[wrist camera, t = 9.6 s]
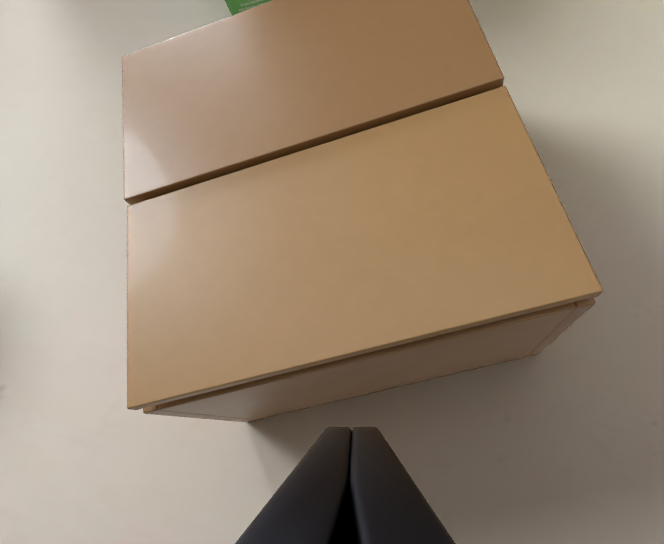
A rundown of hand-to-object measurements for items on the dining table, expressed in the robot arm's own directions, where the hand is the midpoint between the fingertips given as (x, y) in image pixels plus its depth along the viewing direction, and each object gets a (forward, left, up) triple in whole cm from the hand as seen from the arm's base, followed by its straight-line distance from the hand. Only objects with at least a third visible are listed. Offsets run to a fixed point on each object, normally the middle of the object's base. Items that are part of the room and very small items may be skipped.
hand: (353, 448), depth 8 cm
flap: (+5, +3, -4) cm, 7 cm away
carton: (+8, +4, -12) cm, 15 cm away
